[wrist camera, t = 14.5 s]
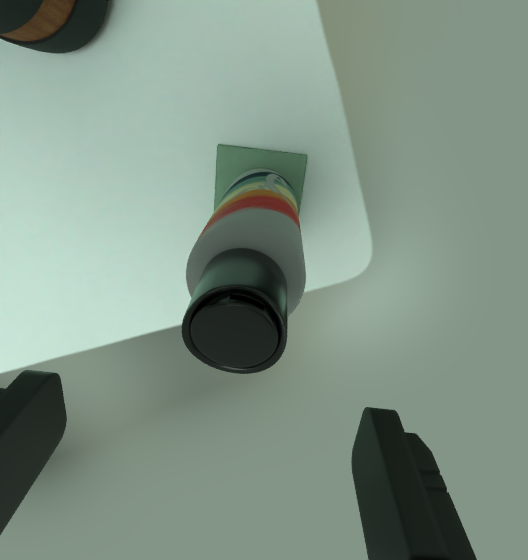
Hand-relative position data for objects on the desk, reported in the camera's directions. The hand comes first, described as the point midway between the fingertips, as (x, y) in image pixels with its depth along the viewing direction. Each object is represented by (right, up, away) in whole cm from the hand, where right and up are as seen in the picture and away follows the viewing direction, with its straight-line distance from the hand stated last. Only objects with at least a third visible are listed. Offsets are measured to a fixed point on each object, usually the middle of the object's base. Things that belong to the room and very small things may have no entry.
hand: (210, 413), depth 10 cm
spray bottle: (+1, +10, +22) cm, 24 cm away
